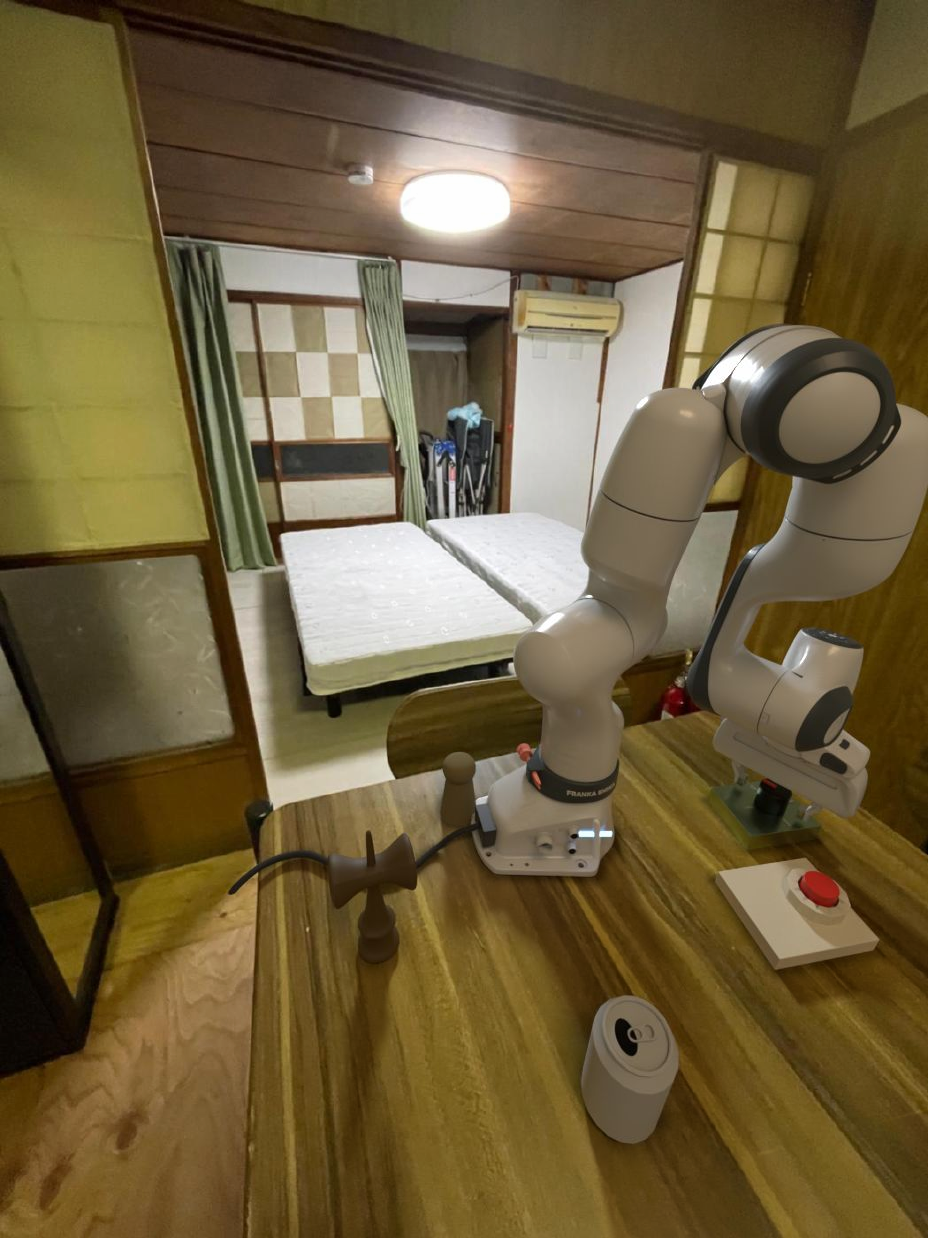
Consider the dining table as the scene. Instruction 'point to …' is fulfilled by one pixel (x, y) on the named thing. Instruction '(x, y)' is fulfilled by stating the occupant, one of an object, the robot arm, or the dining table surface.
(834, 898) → the power button
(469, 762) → the brown wooden peg doll
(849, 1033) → the dining table surface
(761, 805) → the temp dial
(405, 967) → the dining table surface
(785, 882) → the white button base
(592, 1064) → the can
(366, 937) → the kendama
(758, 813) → the dial plate
